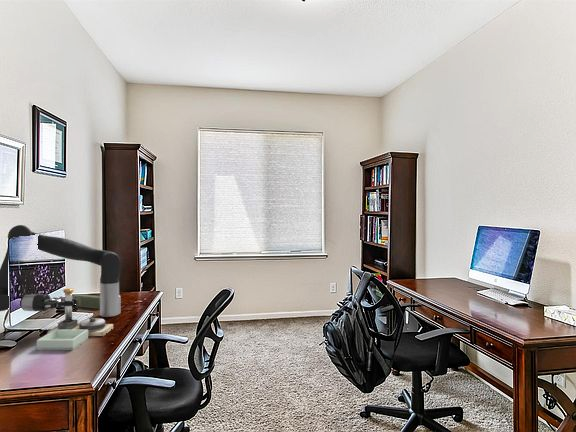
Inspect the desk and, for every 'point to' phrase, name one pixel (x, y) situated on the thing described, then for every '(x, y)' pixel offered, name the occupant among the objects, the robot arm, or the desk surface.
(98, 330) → the tensioner bracket
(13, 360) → the desk surface
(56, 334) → the tray
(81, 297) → the handheld radio
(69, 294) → the orange capped tube
